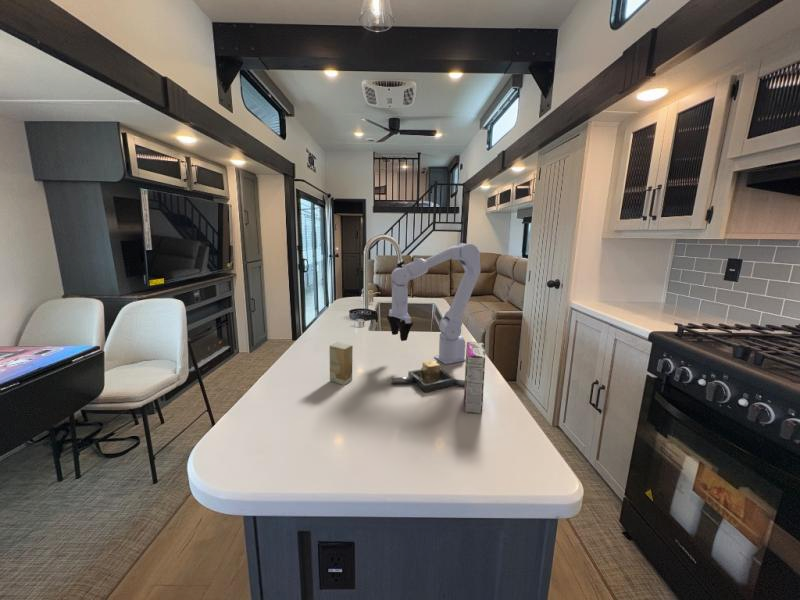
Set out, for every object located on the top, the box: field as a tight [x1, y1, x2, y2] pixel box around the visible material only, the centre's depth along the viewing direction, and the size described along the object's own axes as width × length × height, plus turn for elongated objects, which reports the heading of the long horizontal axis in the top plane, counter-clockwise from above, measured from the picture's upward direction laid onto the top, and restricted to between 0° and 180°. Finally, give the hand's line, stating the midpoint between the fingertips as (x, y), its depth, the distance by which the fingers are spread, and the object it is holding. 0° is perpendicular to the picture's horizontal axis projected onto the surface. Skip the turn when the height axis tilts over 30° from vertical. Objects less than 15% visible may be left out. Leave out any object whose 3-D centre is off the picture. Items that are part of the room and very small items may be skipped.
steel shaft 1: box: [390, 376, 414, 385], centre depth 102 cm, size 7×2×2 cm, turn 96°
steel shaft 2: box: [454, 378, 465, 388], centre depth 100 cm, size 7×2×2 cm, turn 76°
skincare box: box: [329, 341, 354, 386], centre depth 102 cm, size 6×4×12 cm
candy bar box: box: [463, 341, 486, 415], centre depth 89 cm, size 11×5×16 cm, turn 168°
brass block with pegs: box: [420, 360, 442, 383], centre depth 102 cm, size 6×4×6 cm, turn 116°
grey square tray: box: [407, 368, 457, 394], centre depth 103 cm, size 11×11×2 cm
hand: (399, 337), depth 118 cm, fingers open, 7 cm apart
